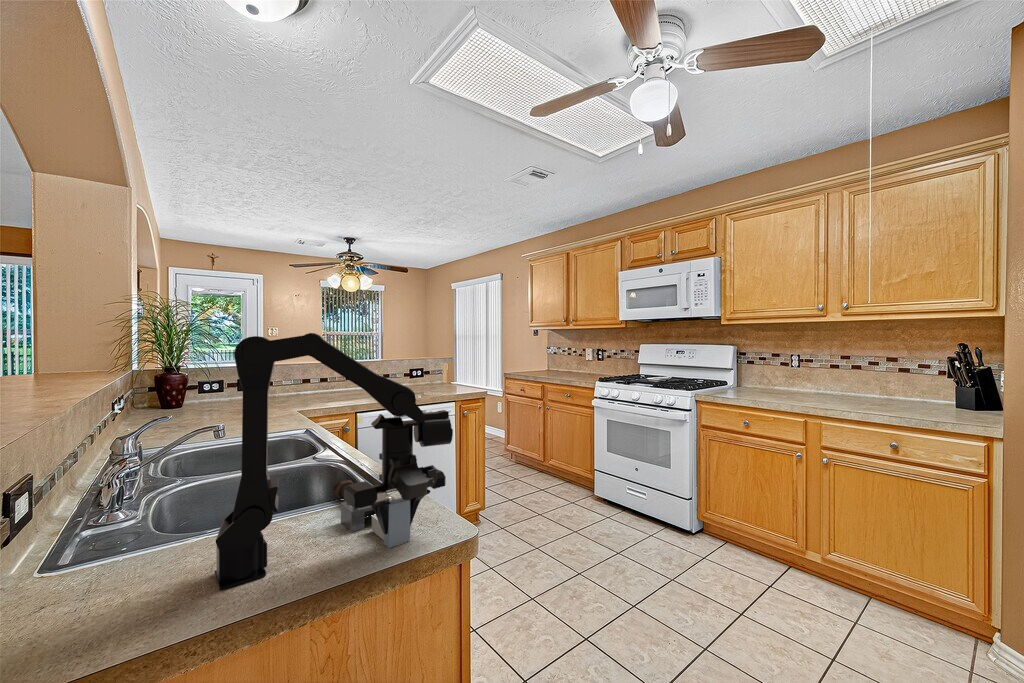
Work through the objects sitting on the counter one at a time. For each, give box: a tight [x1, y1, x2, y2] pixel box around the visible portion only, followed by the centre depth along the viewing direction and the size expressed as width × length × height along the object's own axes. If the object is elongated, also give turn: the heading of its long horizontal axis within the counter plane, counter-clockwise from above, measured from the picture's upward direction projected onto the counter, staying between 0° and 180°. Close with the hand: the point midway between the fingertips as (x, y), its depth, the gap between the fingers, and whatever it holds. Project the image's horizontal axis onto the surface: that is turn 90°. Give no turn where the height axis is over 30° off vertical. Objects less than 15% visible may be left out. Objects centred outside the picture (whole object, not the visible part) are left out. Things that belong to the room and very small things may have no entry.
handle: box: [371, 497, 411, 549], centre depth 86 cm, size 4×9×8 cm, turn 41°
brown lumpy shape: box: [333, 479, 354, 501], centre depth 104 cm, size 6×5×15 cm
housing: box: [340, 493, 396, 533], centre depth 94 cm, size 10×6×5 cm, turn 131°
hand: (397, 529), depth 84 cm, fingers closed on handle, 4 cm apart
